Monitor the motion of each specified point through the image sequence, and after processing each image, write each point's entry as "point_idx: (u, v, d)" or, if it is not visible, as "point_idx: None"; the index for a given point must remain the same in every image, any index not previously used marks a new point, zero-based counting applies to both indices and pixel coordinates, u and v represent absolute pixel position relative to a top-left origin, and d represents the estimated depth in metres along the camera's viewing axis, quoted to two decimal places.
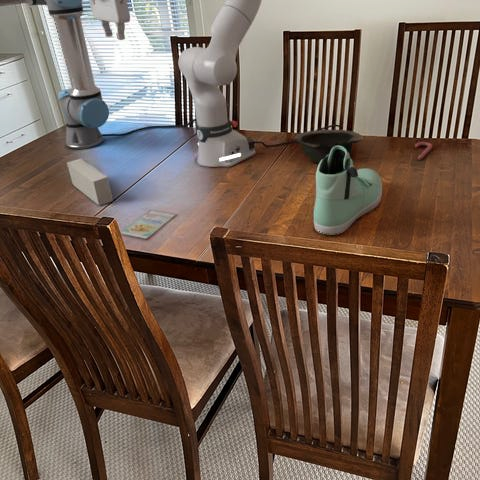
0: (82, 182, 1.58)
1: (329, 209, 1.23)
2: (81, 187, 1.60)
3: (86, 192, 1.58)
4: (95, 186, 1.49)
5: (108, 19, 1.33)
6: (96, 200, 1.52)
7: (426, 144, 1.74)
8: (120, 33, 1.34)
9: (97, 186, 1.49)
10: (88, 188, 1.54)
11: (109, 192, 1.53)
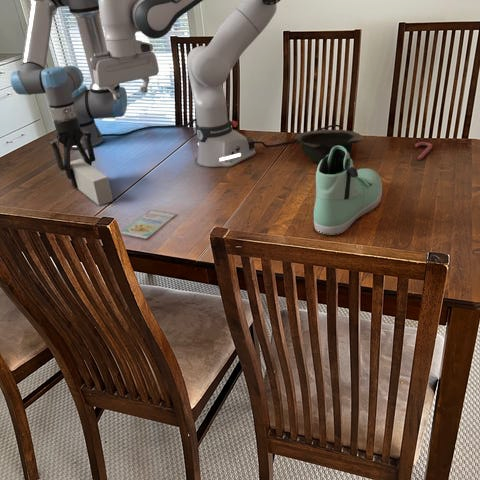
0: (82, 182, 1.58)
1: (329, 209, 1.23)
2: (81, 187, 1.60)
3: (86, 192, 1.58)
4: (95, 186, 1.49)
5: None
6: (96, 200, 1.52)
7: (426, 144, 1.74)
8: (113, 94, 1.45)
9: (97, 186, 1.49)
10: (88, 188, 1.54)
11: (109, 192, 1.53)
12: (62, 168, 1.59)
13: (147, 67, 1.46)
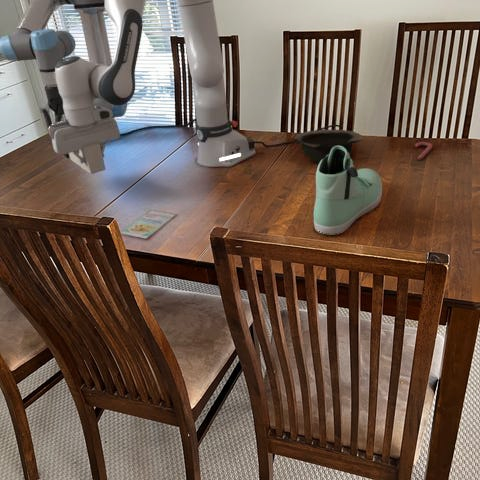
0: None
1: (329, 209, 1.23)
2: (73, 157, 1.55)
3: (78, 161, 1.52)
4: (87, 153, 1.43)
5: None
6: (88, 168, 1.47)
7: (426, 144, 1.74)
8: (78, 158, 1.46)
9: (88, 153, 1.44)
10: (80, 156, 1.49)
11: (102, 160, 1.47)
12: None
13: (107, 132, 1.46)
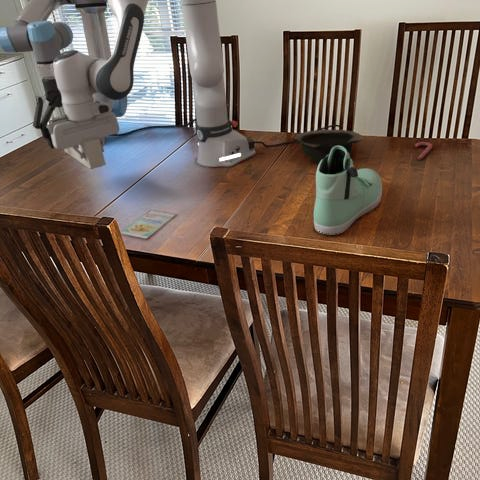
0: None
1: (329, 209, 1.23)
2: (73, 152, 1.54)
3: (78, 156, 1.51)
4: (87, 148, 1.43)
5: None
6: (88, 163, 1.46)
7: (426, 144, 1.74)
8: (78, 153, 1.45)
9: (88, 148, 1.43)
10: (80, 151, 1.48)
11: (101, 155, 1.46)
12: (37, 126, 1.50)
13: (107, 126, 1.46)
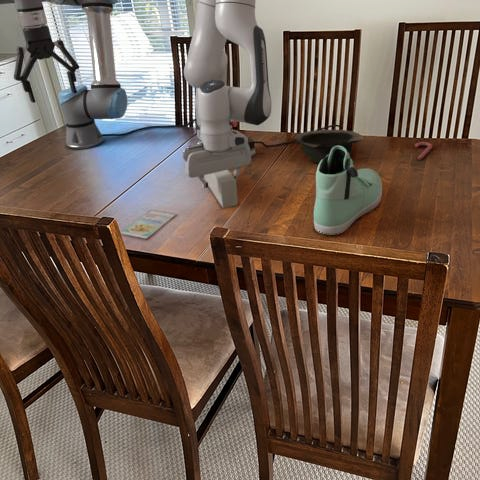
0: (211, 180, 1.52)
1: (329, 209, 1.23)
2: (211, 185, 1.54)
3: (214, 191, 1.51)
4: (222, 188, 1.42)
5: None
6: (221, 201, 1.45)
7: (426, 144, 1.74)
8: (202, 182, 1.43)
9: (223, 188, 1.42)
10: (216, 187, 1.48)
11: (235, 195, 1.44)
12: (17, 78, 1.46)
13: (239, 158, 1.42)
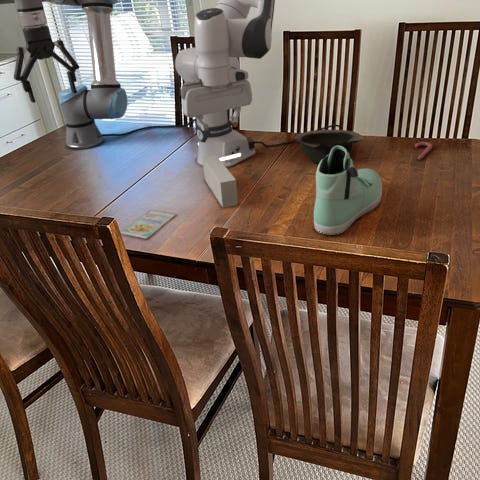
0: (211, 180, 1.52)
1: (329, 209, 1.23)
2: (211, 185, 1.54)
3: (214, 191, 1.52)
4: (222, 188, 1.42)
5: None
6: (221, 201, 1.45)
7: (426, 144, 1.74)
8: (201, 124, 1.33)
9: (223, 188, 1.42)
10: (216, 187, 1.48)
11: (235, 195, 1.44)
12: (17, 78, 1.46)
13: (240, 96, 1.33)
